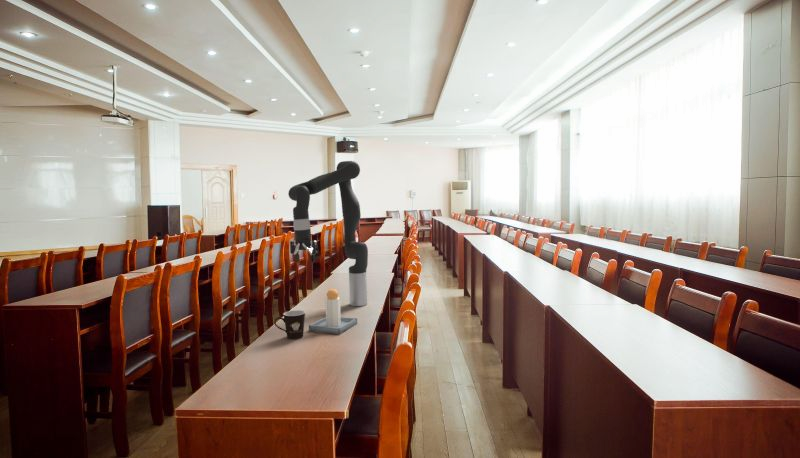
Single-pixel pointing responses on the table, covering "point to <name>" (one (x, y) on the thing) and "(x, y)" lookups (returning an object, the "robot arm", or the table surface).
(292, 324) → the coffee mug
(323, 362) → the table surface
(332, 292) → the ball
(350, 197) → the robot arm
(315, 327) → the tray
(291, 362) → the table surface
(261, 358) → the table surface
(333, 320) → the white hexagonal prism
